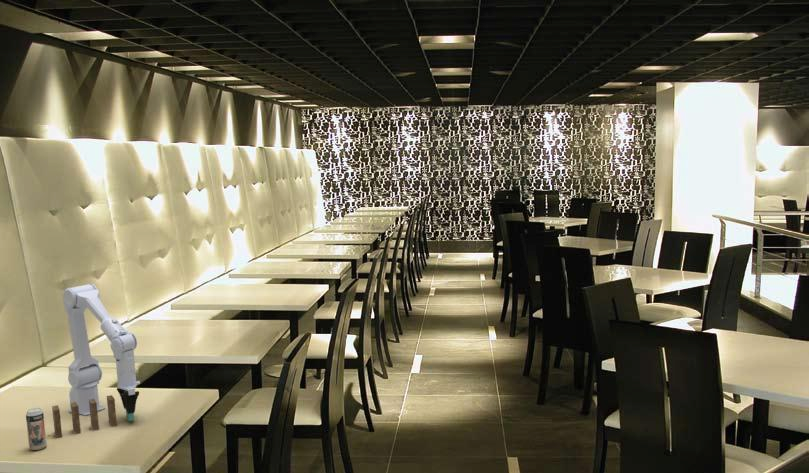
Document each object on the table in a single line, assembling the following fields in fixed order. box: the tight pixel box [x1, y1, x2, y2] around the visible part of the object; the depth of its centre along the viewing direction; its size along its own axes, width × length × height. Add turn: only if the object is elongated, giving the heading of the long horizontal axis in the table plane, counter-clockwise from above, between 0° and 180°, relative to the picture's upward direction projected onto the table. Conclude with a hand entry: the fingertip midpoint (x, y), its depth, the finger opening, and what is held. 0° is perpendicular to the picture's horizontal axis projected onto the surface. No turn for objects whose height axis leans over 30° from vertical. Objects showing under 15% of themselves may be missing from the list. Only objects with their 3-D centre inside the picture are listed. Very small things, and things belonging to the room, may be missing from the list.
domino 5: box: [124, 390, 135, 422], centre depth 259 cm, size 2×5×9 cm, turn 30°
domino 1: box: [51, 404, 63, 439], centre depth 248 cm, size 2×5×9 cm, turn 30°
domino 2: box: [70, 402, 81, 435], centre depth 251 cm, size 2×5×9 cm, turn 30°
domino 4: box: [106, 394, 118, 428], centre depth 256 cm, size 2×5×9 cm, turn 30°
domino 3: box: [89, 399, 100, 431], centre depth 253 cm, size 2×5×9 cm, turn 30°
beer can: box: [25, 407, 48, 452], centre depth 237 cm, size 5×5×12 cm
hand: (129, 410), depth 259 cm, fingers closed on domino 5, 5 cm apart
